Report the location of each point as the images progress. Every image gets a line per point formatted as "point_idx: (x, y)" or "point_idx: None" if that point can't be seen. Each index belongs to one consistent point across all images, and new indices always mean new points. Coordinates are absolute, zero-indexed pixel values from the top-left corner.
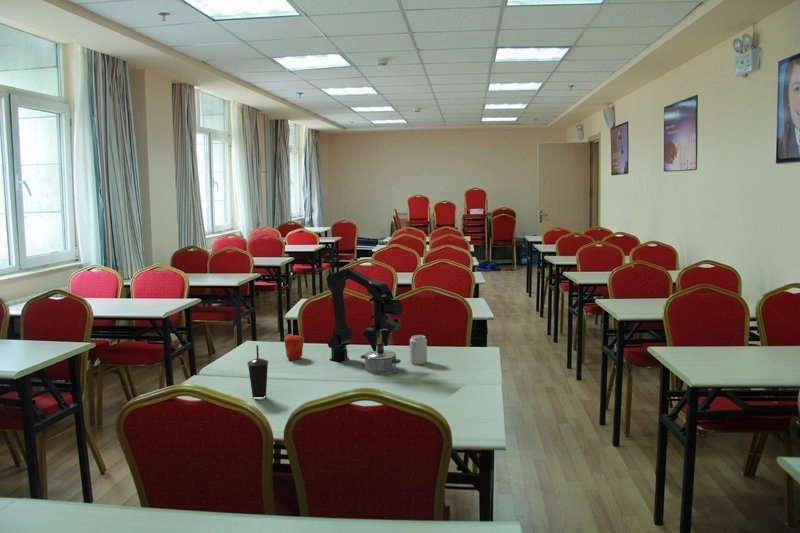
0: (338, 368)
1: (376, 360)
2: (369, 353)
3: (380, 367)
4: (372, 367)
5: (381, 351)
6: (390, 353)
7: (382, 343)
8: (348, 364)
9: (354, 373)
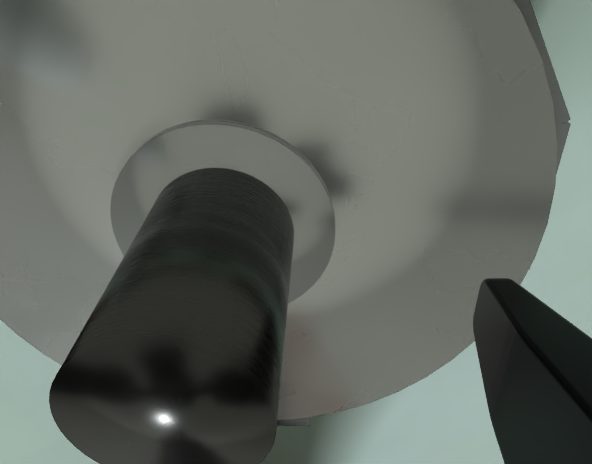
0: (433, 436)
1: (562, 110)
2: (317, 372)
3: None
4: None
5: (261, 212)
6: (67, 35)
7: (153, 361)
8: (290, 426)
9: (542, 276)
